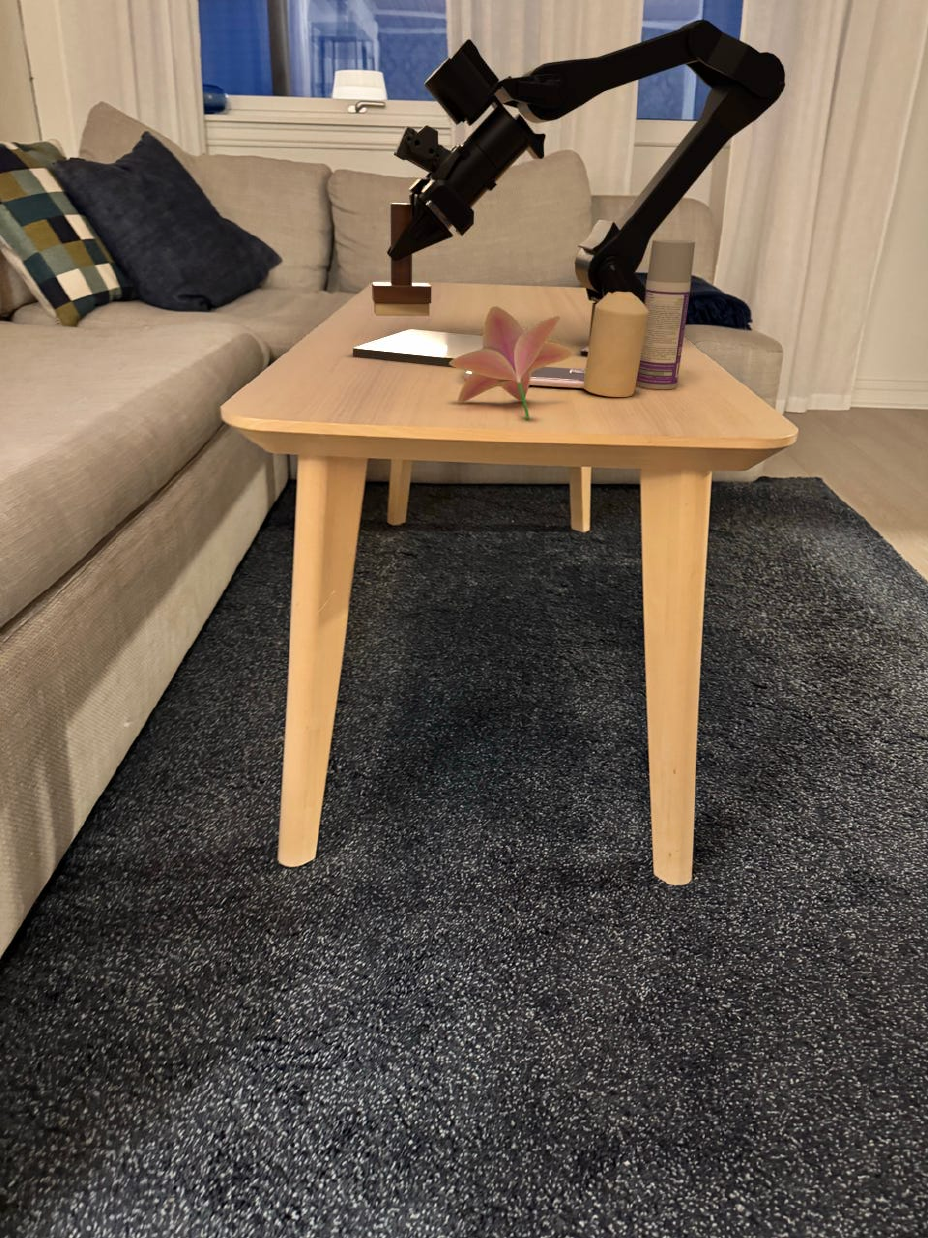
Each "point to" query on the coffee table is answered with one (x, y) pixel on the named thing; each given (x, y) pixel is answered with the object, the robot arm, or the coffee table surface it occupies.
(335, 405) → the coffee table surface
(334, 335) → the coffee table surface
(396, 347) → the panel
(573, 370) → the mobile phone
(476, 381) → the lily
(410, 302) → the brush
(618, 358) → the candle
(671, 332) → the container
